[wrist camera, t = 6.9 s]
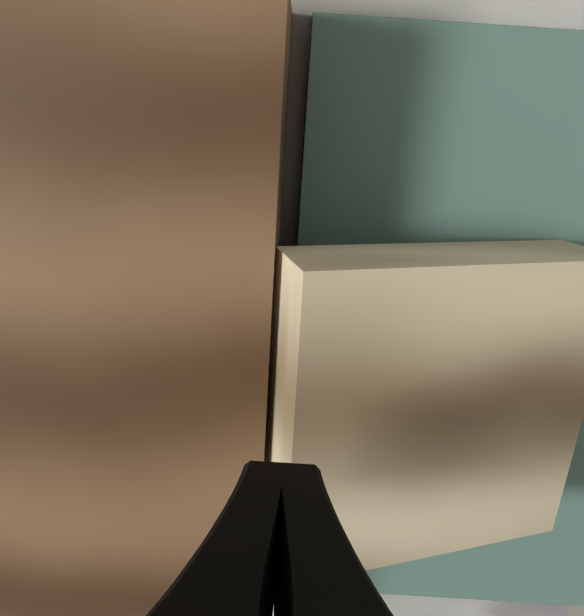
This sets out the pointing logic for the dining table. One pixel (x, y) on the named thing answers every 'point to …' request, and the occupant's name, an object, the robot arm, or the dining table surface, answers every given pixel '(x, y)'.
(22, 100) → the board
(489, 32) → the rubber mat
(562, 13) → the dining table surface
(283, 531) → the robot arm
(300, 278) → the birch block
